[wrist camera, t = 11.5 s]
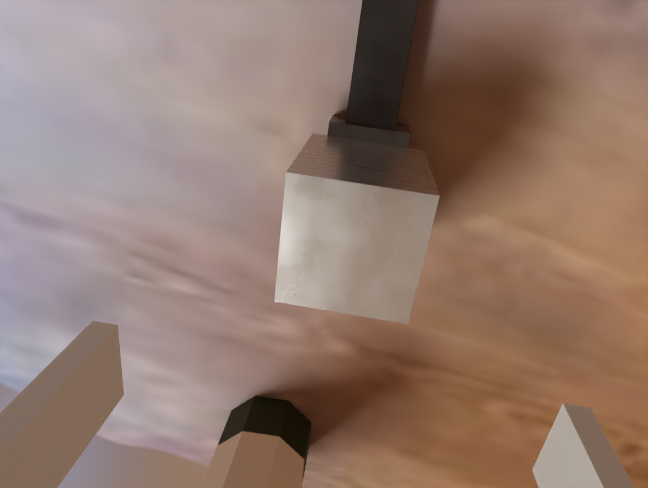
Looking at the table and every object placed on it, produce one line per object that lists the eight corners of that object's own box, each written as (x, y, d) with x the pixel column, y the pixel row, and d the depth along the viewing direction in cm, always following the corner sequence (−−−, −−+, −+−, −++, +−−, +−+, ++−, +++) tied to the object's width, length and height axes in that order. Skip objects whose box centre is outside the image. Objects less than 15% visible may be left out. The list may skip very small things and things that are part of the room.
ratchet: (354, -57, 27) (347, -81, 21) (442, -46, 27) (459, -67, 21) (318, 234, 35) (305, 274, 30) (385, 244, 35) (385, 287, 29)
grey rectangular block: (312, 133, 30) (286, 172, 22) (424, 150, 29) (439, 195, 21) (301, 234, 33) (274, 301, 25) (401, 250, 32) (408, 324, 24)
